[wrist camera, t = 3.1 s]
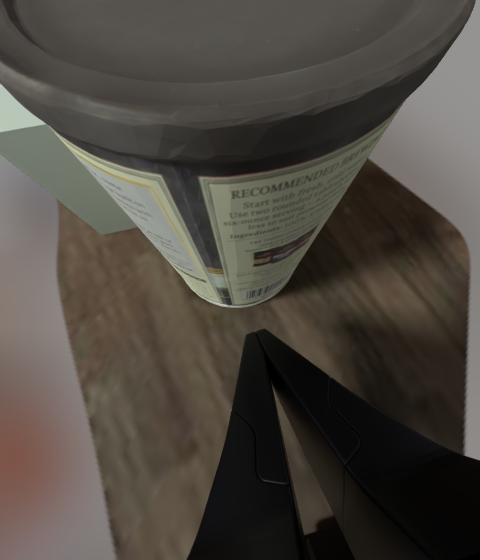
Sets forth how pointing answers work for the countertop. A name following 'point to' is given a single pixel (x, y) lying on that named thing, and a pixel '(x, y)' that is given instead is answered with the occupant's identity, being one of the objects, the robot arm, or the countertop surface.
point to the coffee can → (224, 114)
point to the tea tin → (56, 167)
